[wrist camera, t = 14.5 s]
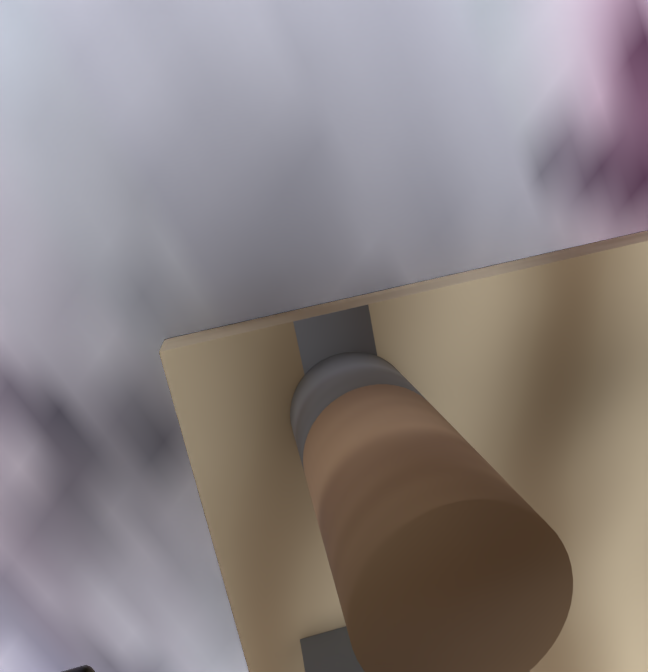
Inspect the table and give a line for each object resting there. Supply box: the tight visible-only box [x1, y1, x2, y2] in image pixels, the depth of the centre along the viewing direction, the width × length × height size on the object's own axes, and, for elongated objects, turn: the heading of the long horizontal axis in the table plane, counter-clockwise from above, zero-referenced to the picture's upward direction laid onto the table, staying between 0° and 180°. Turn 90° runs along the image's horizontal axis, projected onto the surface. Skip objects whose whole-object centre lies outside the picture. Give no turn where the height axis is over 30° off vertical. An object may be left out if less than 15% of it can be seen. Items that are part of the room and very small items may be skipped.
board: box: [159, 231, 648, 672], centre depth 16 cm, size 18×14×1 cm
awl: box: [290, 352, 573, 672], centre depth 11 cm, size 3×3×7 cm
